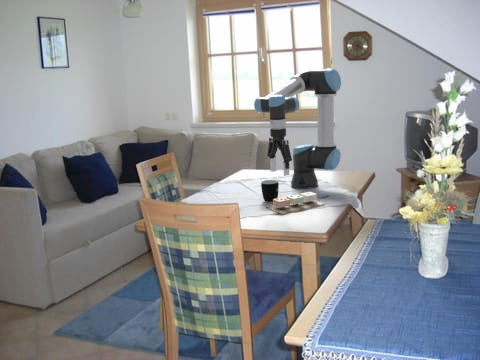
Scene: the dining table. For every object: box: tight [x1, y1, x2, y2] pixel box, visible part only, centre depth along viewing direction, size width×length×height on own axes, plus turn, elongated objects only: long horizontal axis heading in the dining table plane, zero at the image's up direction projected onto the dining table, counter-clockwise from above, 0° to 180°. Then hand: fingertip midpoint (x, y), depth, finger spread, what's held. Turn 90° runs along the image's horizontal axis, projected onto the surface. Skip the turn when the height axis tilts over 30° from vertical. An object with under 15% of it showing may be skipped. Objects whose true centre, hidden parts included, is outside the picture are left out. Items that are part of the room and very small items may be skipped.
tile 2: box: [286, 194, 304, 205], centre depth 278 cm, size 6×6×3 cm
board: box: [267, 200, 325, 215], centre depth 279 cm, size 25×14×1 cm, turn 118°
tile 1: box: [299, 191, 318, 202], centre depth 281 cm, size 6×6×3 cm
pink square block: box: [272, 196, 290, 208], centre depth 274 cm, size 6×6×3 cm
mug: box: [260, 179, 280, 203], centre depth 292 cm, size 12×9×10 cm
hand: (279, 173), depth 271 cm, fingers open, 11 cm apart
